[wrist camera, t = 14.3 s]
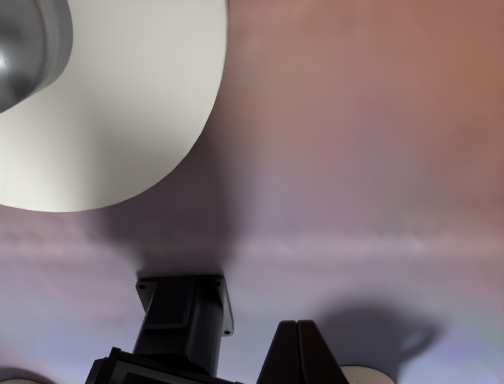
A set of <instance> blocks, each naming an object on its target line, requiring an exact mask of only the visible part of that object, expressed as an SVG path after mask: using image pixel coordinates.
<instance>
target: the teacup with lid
mask: <svg viewBox="0 0 504 384" xmlns="http://www.w3.org/2000/svg"><path fill="white" fill-rule="evenodd" d="M341 369H342V371H343V373H344V374H345V376H346V378H347V380H348V381H349V383H350V384H394V382H393V381H392V380H391V379H390V378H389V377H388V376H387V375H385V374H384V373H382V372H380V371H377V370H375V369H371V368H367V367H360V366H344V367H341Z"/></svg>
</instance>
